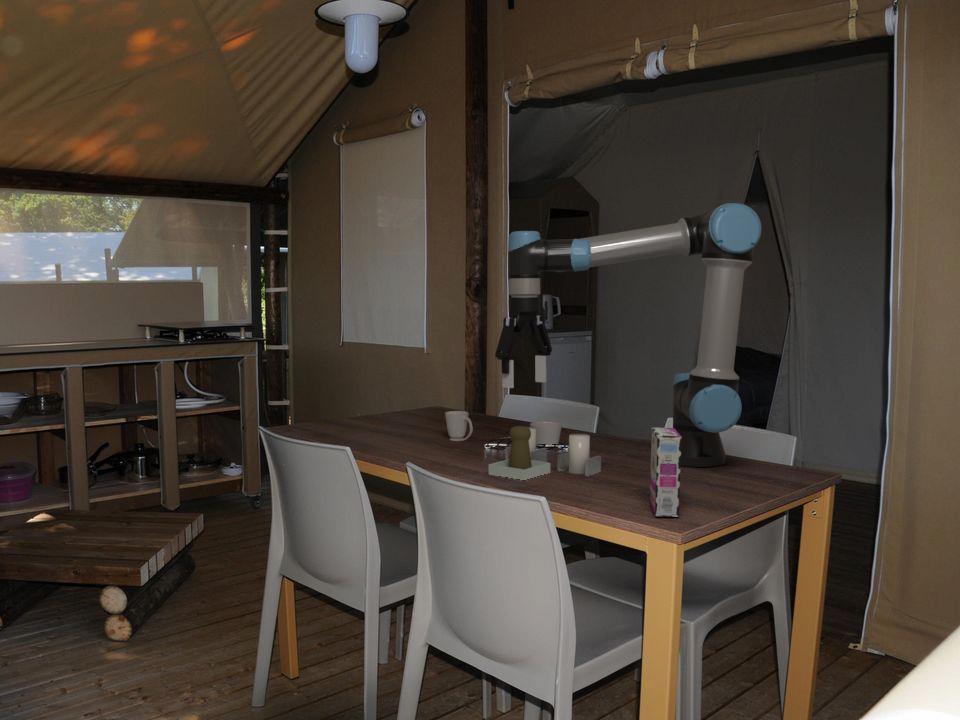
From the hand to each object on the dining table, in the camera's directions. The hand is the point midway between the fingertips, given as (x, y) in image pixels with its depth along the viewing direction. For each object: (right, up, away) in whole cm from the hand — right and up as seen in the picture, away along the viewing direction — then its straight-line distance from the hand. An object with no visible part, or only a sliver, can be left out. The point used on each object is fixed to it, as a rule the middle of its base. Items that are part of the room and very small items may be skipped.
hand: (524, 384), depth 205 cm
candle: (+8, -19, +36) cm, 41 cm away
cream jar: (+13, -21, +3) cm, 26 cm away
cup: (-17, -18, +46) cm, 52 cm away
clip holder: (+7, -21, +8) cm, 24 cm away
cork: (-1, -21, +2) cm, 21 cm away
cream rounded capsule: (+1, -21, +13) cm, 25 cm away
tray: (-1, -22, +1) cm, 22 cm away
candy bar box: (+27, -25, -33) cm, 49 cm away
